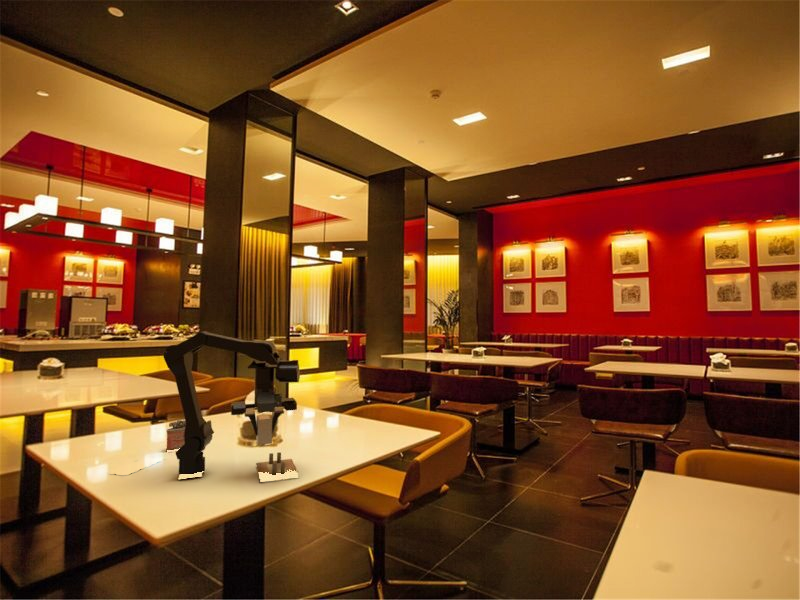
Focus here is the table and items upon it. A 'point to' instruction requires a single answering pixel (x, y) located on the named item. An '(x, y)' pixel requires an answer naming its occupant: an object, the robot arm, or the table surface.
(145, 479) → the table surface
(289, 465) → the pin tray
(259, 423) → the block
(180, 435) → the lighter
